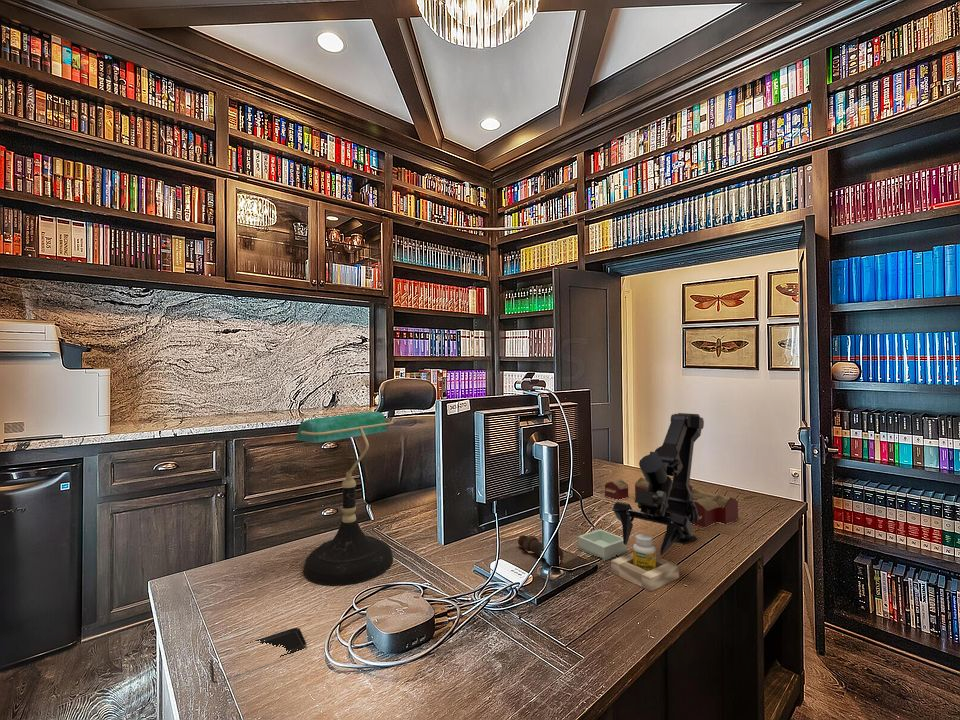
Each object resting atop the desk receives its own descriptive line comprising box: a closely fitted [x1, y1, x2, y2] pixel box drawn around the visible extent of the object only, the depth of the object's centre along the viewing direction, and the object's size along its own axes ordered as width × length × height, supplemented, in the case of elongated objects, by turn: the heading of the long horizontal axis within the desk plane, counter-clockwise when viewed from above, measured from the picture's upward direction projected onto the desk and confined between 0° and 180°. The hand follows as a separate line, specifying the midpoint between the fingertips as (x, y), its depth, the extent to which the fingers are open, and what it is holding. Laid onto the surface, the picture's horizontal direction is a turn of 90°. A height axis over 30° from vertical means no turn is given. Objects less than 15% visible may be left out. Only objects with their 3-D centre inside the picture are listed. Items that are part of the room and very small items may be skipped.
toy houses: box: [603, 477, 739, 528], centre depth 161 cm, size 45×20×10 cm, turn 34°
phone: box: [245, 627, 307, 657], centre depth 81 cm, size 8×1×15 cm
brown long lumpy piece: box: [517, 535, 564, 562], centre depth 121 cm, size 6×5×15 cm
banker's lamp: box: [295, 411, 394, 586], centre depth 117 cm, size 26×23×40 cm
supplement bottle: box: [632, 533, 657, 571], centre depth 109 cm, size 5×5×10 cm
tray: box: [577, 528, 628, 561], centre depth 124 cm, size 10×10×4 cm
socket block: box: [610, 551, 680, 592], centre depth 109 cm, size 11×11×3 cm
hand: (642, 548), depth 109 cm, fingers open, 9 cm apart
